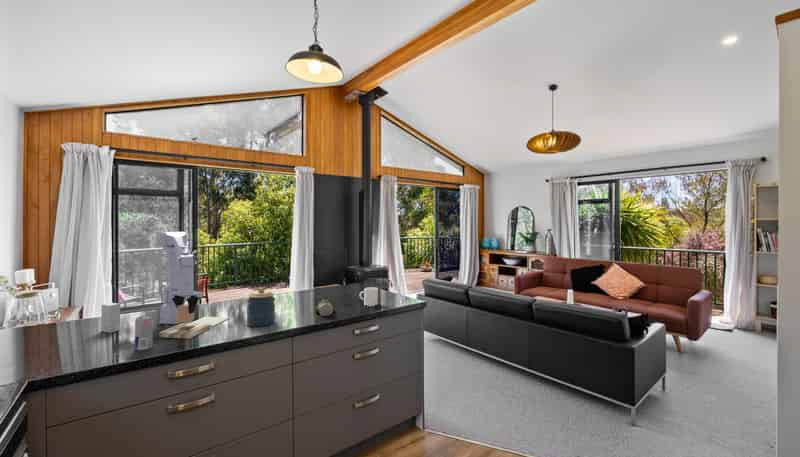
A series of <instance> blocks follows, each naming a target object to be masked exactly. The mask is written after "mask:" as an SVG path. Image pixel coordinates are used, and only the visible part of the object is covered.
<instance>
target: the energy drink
mask: <svg viewBox="0 0 800 457" xmlns="http://www.w3.org/2000/svg"><path fill="white" fill-rule="evenodd" d="M152 317H153V316H151V315H143V316H139V317H136V318H135V321H134V330H135V331H134V348H135V350H136V351H146V350H149V349H152V348H153V318H152Z"/></svg>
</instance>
